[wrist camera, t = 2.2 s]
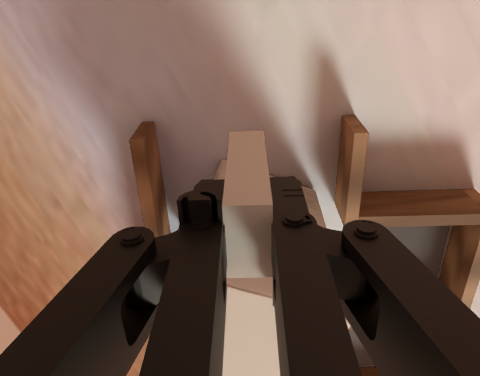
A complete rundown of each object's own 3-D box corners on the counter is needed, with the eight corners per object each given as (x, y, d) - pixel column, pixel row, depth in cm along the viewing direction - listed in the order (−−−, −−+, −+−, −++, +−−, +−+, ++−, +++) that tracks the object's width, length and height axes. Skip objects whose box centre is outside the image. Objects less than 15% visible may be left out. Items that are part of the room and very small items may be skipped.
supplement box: (220, 154, 33) (203, 273, 20) (317, 188, 34) (362, 320, 21) (188, 238, 37) (157, 382, 24) (276, 265, 38) (292, 415, 25)
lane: (141, 122, 32) (128, 140, 28) (496, 110, 31) (528, 127, 27) (191, 428, 51) (187, 461, 48) (408, 425, 50) (421, 459, 47)
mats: (350, 208, 35) (351, 210, 35) (452, 206, 35) (454, 208, 35) (333, 363, 45) (334, 365, 45) (413, 361, 45) (414, 364, 44)
